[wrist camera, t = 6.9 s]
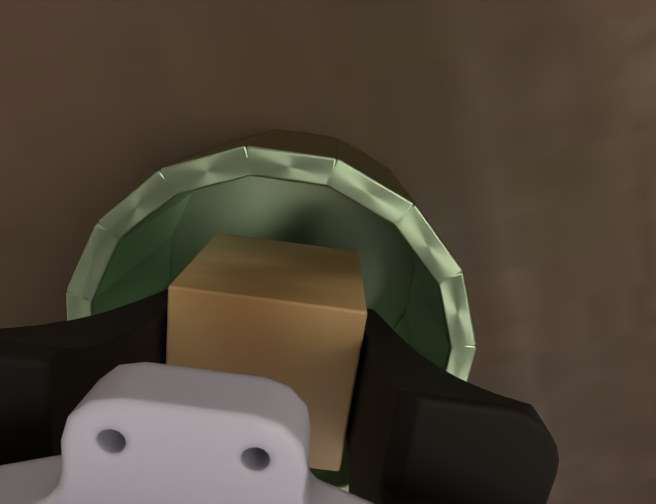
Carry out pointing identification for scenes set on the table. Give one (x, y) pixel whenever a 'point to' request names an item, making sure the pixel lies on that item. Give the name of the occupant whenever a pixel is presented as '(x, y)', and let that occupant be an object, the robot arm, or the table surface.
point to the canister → (285, 237)
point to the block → (276, 324)
